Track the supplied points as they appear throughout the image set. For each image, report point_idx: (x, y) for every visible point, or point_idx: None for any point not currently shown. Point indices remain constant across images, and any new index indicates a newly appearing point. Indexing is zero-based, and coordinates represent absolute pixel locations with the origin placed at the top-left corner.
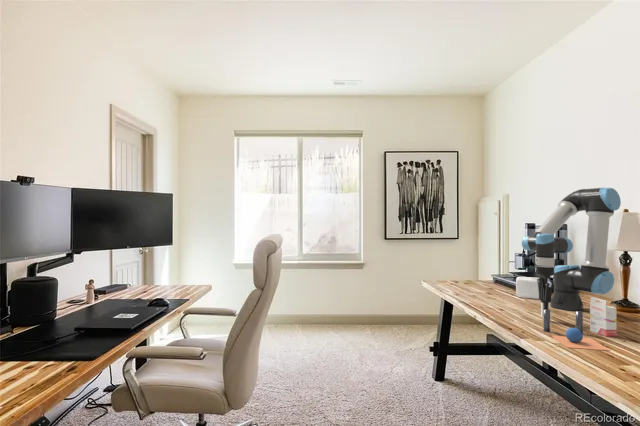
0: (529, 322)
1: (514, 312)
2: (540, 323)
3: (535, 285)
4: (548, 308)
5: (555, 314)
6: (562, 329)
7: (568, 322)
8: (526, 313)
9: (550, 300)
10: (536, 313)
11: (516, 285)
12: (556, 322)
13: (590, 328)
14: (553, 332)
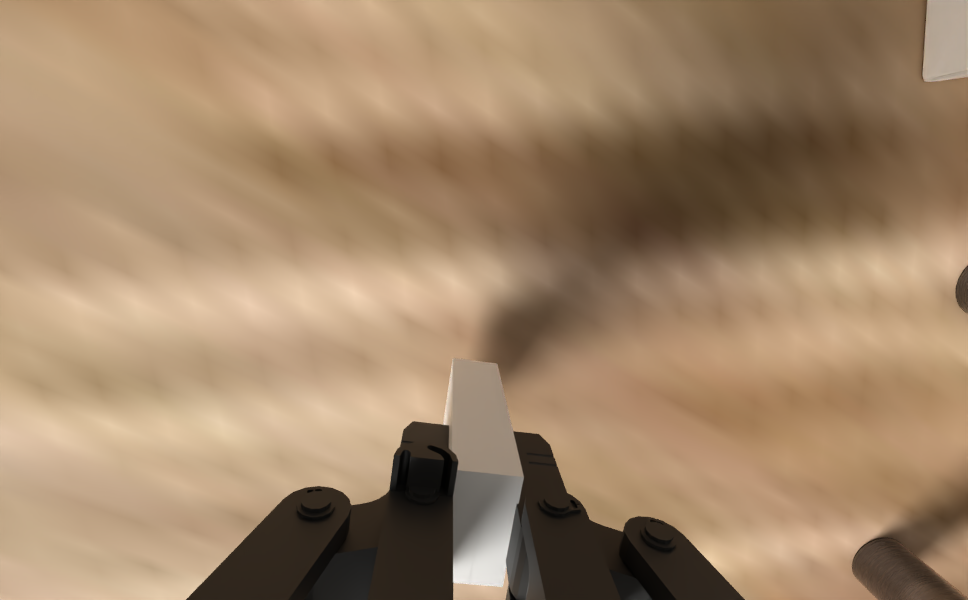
0: None
1: (109, 561)
2: (609, 491)
3: None
4: (507, 420)
5: (79, 26)
6: (838, 381)
7: (552, 119)
8: (128, 439)
9: (700, 571)
10: (90, 303)
11: None
12: (559, 286)
13: (957, 76)
14: (919, 521)
